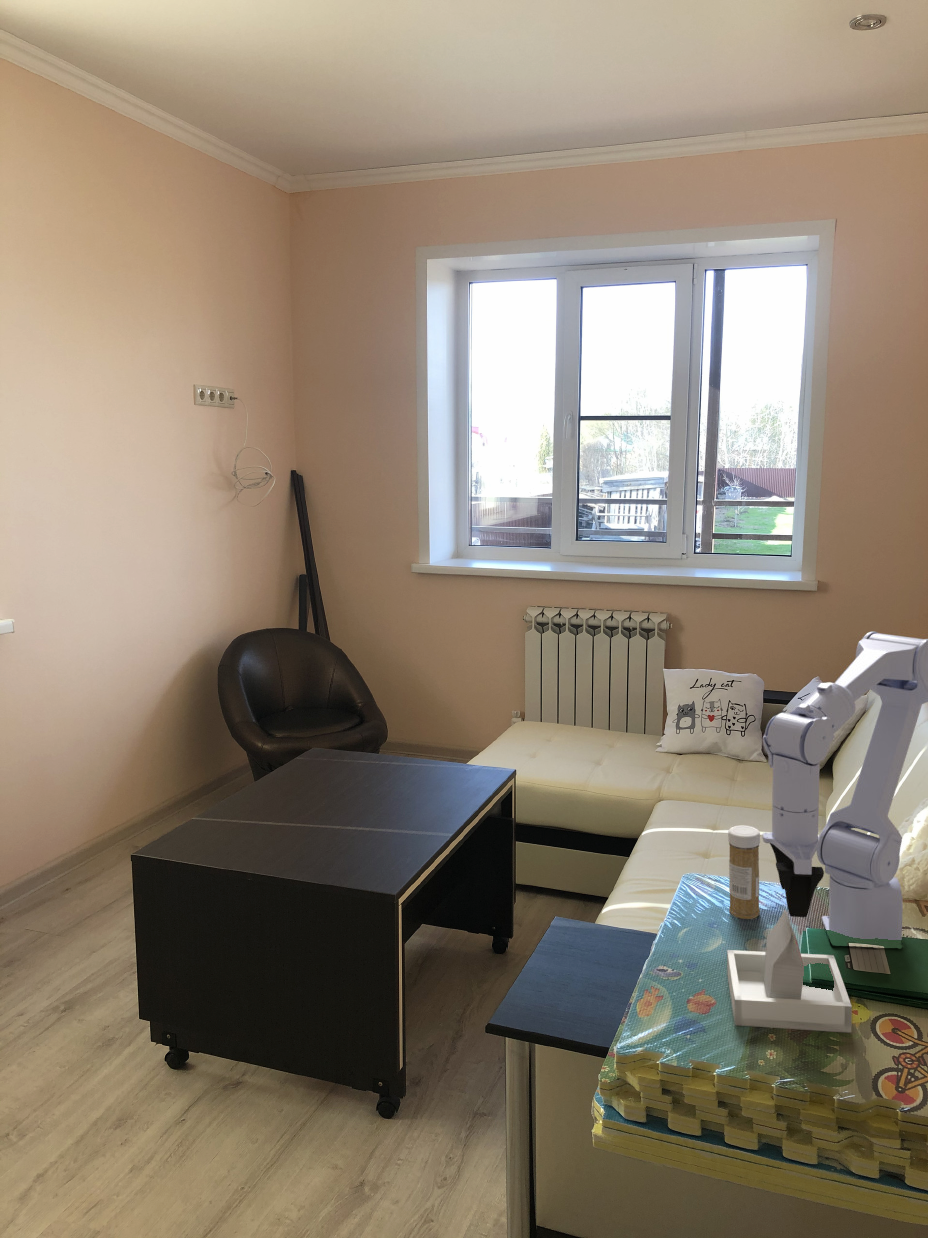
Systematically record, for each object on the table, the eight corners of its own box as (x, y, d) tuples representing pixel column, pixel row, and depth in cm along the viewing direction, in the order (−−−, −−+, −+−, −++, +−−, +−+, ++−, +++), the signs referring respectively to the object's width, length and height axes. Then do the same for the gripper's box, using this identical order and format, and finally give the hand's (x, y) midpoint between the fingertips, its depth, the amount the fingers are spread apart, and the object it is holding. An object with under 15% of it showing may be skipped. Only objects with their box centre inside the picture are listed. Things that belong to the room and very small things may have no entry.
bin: (833, 979, 125) (833, 955, 125) (851, 1032, 114) (851, 1006, 114) (727, 973, 128) (727, 950, 127) (734, 1025, 117) (734, 999, 116)
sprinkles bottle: (766, 914, 143) (766, 830, 141) (745, 923, 141) (746, 839, 138) (742, 903, 147) (742, 821, 144) (722, 912, 144) (721, 829, 142)
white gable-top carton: (768, 1007, 118) (776, 935, 116) (763, 976, 124) (770, 907, 122) (799, 1011, 117) (807, 939, 115) (792, 980, 124) (799, 911, 121)
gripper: (757, 784, 131) (756, 876, 133) (770, 825, 117) (768, 927, 119) (810, 785, 129) (808, 878, 132) (830, 827, 115) (827, 930, 118)
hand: (793, 901), depth 125 cm, fingers open, 7 cm apart
